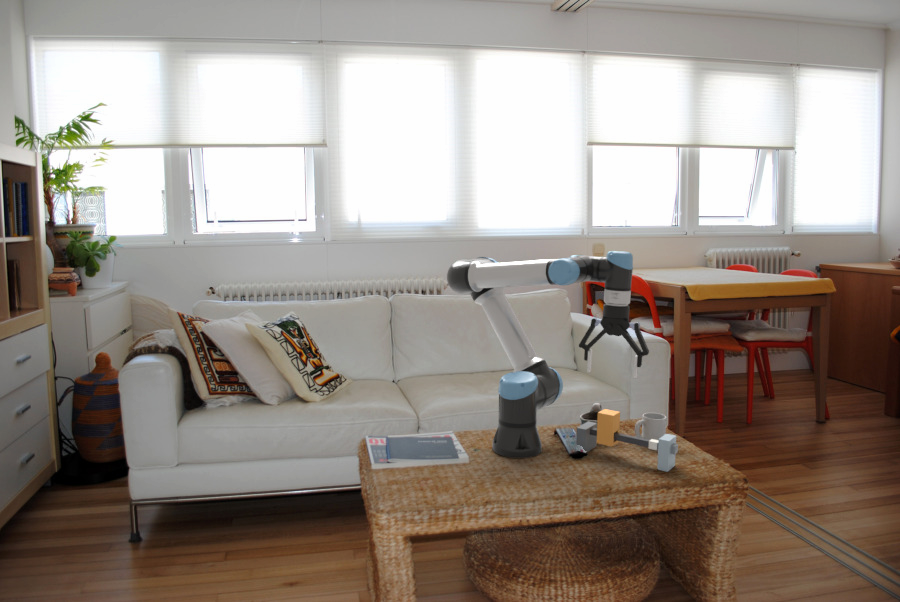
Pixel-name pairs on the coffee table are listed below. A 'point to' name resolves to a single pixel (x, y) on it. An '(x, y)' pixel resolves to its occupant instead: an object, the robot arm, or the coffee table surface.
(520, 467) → the coffee table surface
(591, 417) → the mug
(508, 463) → the coffee table surface
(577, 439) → the rail rig
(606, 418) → the orange sliding sleeve
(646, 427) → the cup
